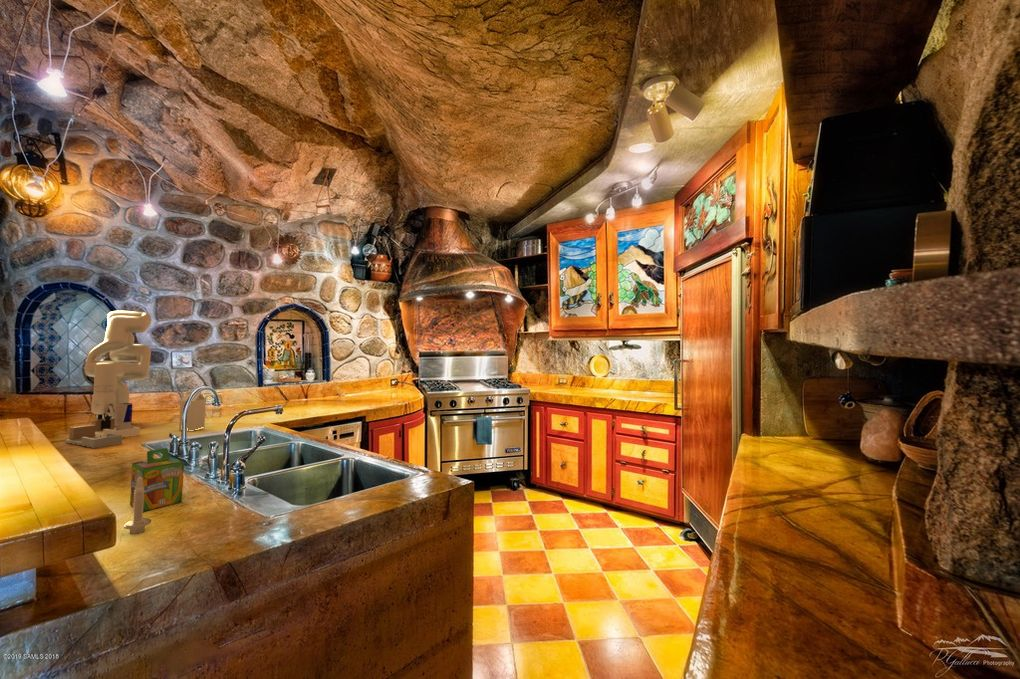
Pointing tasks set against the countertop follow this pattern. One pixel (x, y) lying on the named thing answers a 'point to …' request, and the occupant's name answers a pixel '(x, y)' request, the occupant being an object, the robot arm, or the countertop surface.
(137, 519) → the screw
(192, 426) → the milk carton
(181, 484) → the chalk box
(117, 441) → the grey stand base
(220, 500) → the countertop surface
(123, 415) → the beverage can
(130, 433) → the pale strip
